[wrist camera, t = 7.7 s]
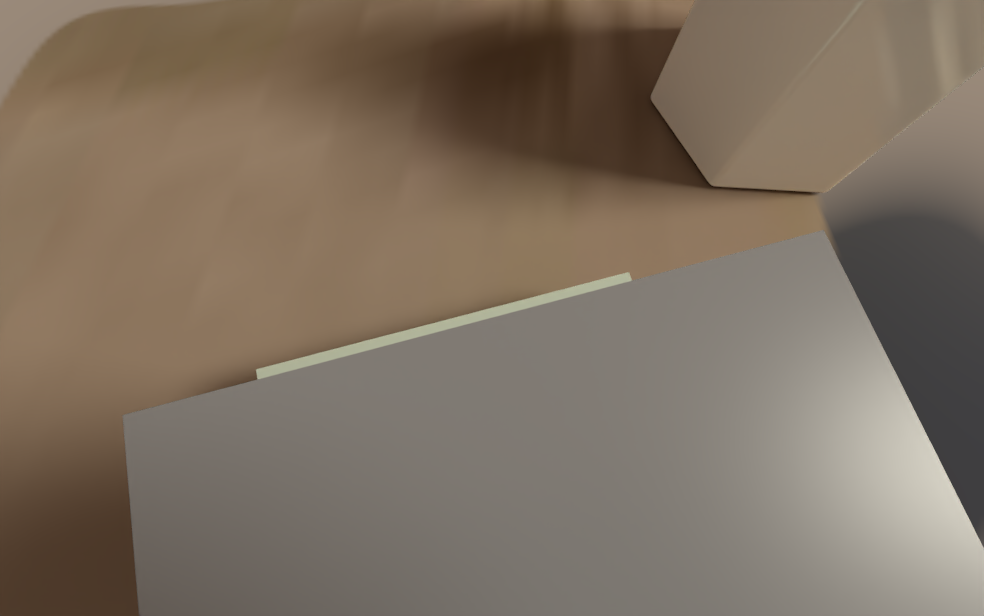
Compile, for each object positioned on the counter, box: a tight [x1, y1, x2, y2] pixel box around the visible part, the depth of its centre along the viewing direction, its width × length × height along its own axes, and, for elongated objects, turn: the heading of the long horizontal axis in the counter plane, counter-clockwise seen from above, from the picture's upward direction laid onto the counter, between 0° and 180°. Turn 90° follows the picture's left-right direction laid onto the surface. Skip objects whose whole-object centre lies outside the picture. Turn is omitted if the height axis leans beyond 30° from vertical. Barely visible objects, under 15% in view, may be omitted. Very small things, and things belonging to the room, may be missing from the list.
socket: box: [256, 272, 632, 379], centre depth 16 cm, size 11×11×3 cm
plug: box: [123, 230, 984, 616], centre depth 9 cm, size 4×4×14 cm
